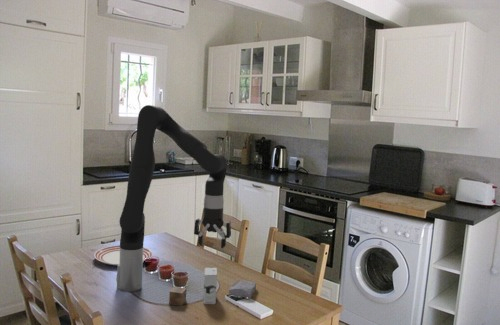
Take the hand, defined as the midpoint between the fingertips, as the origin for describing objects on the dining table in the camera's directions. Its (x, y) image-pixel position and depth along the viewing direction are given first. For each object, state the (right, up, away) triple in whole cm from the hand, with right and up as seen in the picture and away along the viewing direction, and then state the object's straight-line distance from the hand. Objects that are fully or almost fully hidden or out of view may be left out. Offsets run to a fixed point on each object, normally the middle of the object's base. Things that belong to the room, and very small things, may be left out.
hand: (211, 246), depth 173 cm
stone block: (+11, -22, +11) cm, 27 cm away
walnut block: (-13, -21, -2) cm, 25 cm away
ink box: (-1, -22, +2) cm, 22 cm away
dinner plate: (-46, -15, +42) cm, 64 cm away
